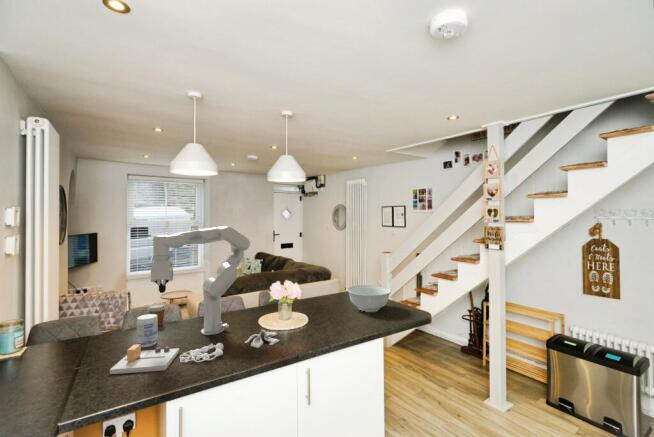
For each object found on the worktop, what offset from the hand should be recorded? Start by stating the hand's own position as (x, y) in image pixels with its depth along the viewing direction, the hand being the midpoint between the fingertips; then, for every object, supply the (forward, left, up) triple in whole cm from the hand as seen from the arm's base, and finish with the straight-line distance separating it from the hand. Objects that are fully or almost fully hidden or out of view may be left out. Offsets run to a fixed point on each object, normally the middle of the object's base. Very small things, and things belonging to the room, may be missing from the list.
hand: (162, 292), depth 161 cm
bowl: (-127, -41, -27) cm, 136 cm away
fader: (+4, +23, -25) cm, 34 cm away
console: (-2, +23, -27) cm, 36 cm away
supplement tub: (+7, +1, -27) cm, 28 cm away
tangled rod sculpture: (-26, +22, -28) cm, 44 cm away
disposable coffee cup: (+14, -30, -27) cm, 43 cm away
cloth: (-52, +5, -28) cm, 59 cm away
